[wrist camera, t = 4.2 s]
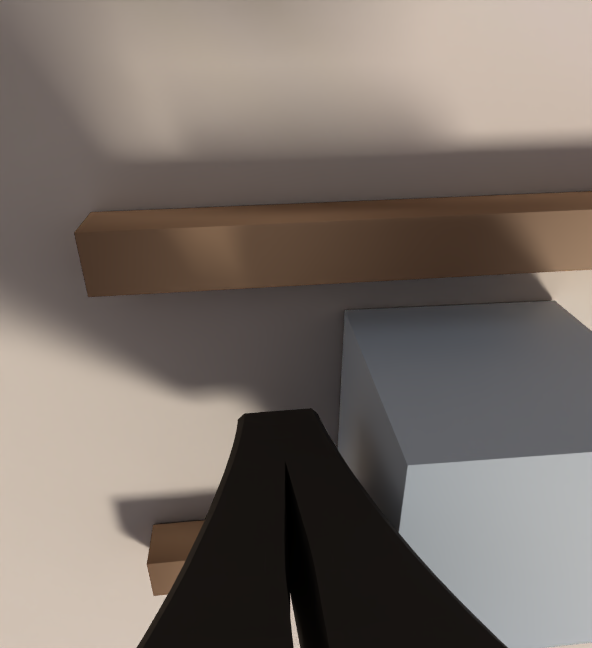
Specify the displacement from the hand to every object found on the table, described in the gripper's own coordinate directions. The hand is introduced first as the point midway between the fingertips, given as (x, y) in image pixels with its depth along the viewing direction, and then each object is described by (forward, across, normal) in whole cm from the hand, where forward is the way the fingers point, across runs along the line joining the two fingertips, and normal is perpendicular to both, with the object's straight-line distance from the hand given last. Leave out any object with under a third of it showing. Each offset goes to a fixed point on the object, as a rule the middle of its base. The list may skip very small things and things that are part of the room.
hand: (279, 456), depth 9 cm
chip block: (+2, -3, 0) cm, 4 cm away
